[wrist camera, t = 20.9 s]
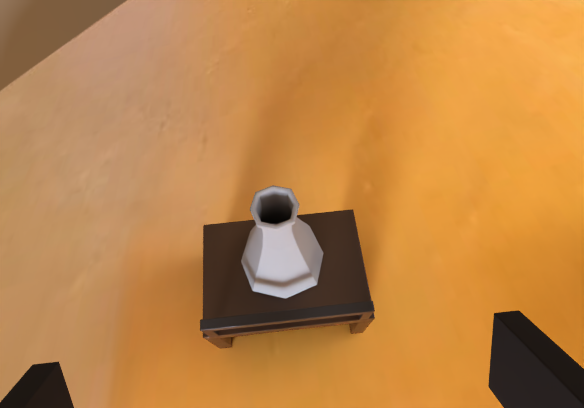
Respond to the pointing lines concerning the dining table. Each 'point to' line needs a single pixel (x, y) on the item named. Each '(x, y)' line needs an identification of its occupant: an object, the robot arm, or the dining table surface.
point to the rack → (275, 310)
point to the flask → (280, 246)
